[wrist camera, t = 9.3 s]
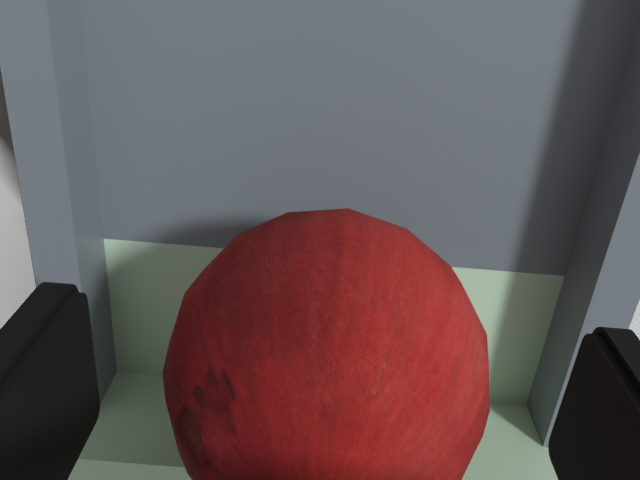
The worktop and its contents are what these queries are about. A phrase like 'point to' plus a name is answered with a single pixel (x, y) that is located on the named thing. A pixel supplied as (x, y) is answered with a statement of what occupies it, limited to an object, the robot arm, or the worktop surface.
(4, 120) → the worktop surface
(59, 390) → the robot arm
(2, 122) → the worktop surface
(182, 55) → the channel
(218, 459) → the onion
